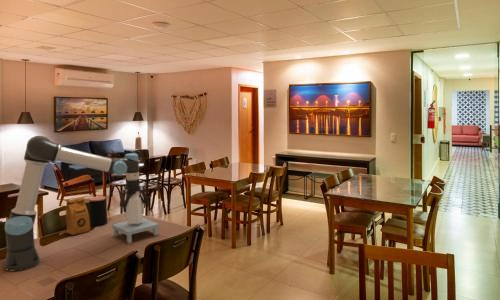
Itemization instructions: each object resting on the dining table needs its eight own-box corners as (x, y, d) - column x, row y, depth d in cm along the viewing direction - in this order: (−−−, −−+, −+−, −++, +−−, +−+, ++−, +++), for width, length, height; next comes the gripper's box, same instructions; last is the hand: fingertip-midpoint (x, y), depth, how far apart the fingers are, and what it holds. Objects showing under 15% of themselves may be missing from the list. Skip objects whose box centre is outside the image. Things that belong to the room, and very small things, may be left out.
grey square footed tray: (128, 243, 209) (127, 232, 208) (112, 235, 223) (112, 224, 222) (159, 235, 223) (158, 224, 222) (142, 228, 237) (142, 217, 236)
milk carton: (139, 223, 218) (137, 192, 216) (127, 224, 218) (125, 192, 216) (142, 220, 225) (141, 190, 223) (131, 220, 225) (129, 190, 223)
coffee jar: (110, 221, 251) (108, 196, 249) (102, 226, 241) (100, 200, 239) (95, 221, 252) (93, 196, 250) (87, 226, 242) (85, 199, 240)
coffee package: (92, 231, 231) (89, 197, 228) (71, 237, 222) (68, 201, 219) (85, 228, 238) (83, 195, 235) (65, 233, 229) (63, 199, 226)
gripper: (117, 182, 208) (119, 220, 211) (152, 177, 224) (154, 212, 226) (112, 181, 214) (114, 218, 216) (146, 175, 229) (148, 210, 232)
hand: (134, 215), depth 221 cm, fingers closed on milk carton, 10 cm apart
